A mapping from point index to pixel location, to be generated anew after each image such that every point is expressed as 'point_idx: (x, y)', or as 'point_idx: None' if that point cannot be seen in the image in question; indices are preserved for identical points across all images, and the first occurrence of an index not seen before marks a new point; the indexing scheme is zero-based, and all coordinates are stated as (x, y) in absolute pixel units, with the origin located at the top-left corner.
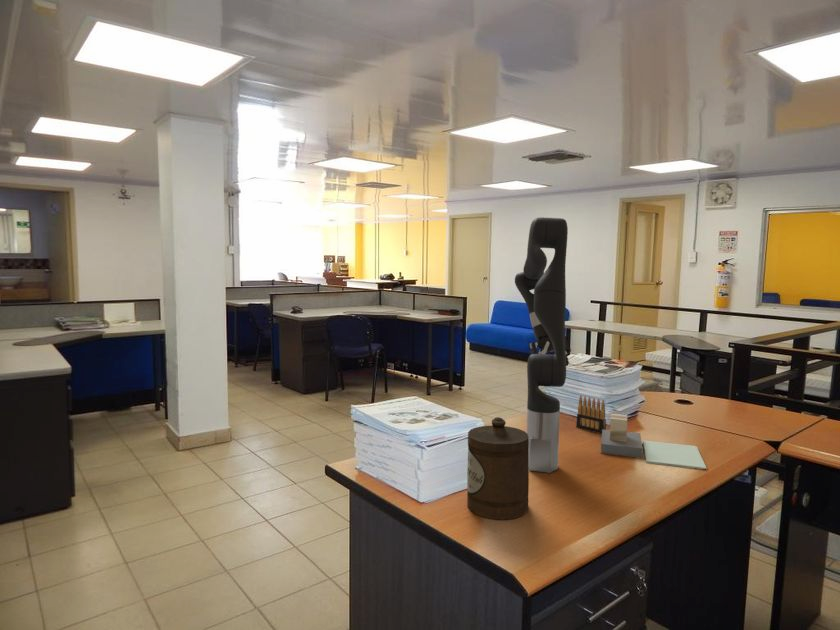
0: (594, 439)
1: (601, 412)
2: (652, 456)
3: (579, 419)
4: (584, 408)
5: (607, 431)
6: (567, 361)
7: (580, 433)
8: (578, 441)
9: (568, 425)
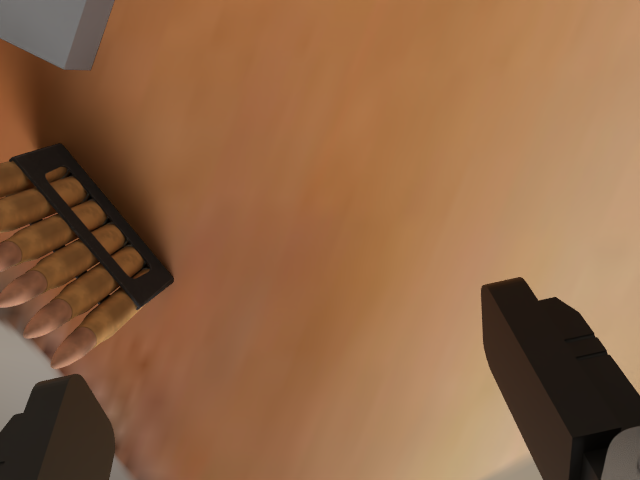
0: (143, 45)
1: None
2: None
3: (142, 281)
4: (82, 285)
5: (45, 19)
6: (17, 431)
7: (188, 165)
8: (252, 15)
9: (207, 315)
